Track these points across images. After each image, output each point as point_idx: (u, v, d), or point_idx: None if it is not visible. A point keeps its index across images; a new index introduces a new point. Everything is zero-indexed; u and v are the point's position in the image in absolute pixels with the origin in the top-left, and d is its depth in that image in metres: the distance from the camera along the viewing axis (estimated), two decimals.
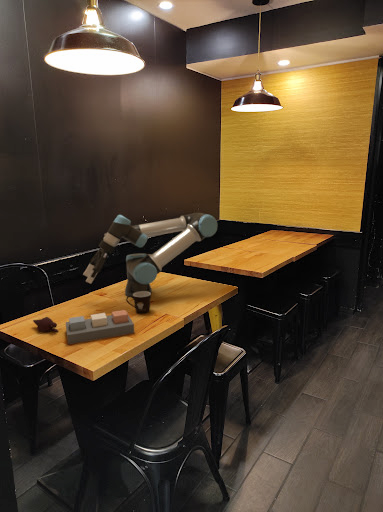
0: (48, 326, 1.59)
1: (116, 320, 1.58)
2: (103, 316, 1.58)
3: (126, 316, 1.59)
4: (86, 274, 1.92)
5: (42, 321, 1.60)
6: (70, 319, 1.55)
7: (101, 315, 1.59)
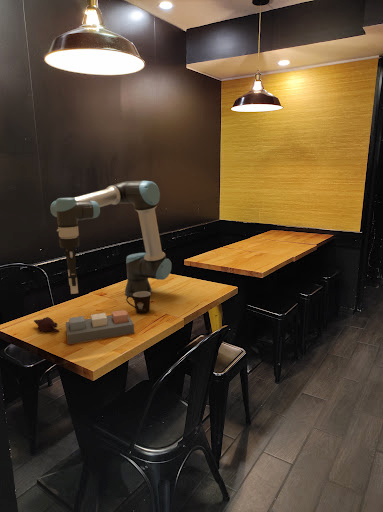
0: (49, 326, 1.59)
1: (116, 320, 1.58)
2: (103, 316, 1.58)
3: (126, 316, 1.59)
4: None
5: (43, 321, 1.60)
6: (70, 319, 1.55)
7: (101, 315, 1.59)
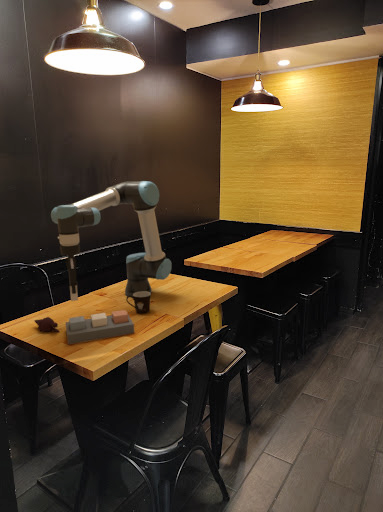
0: (49, 326, 1.59)
1: (116, 320, 1.58)
2: (103, 316, 1.58)
3: (126, 316, 1.59)
4: None
5: (43, 321, 1.60)
6: (70, 319, 1.55)
7: (101, 315, 1.59)
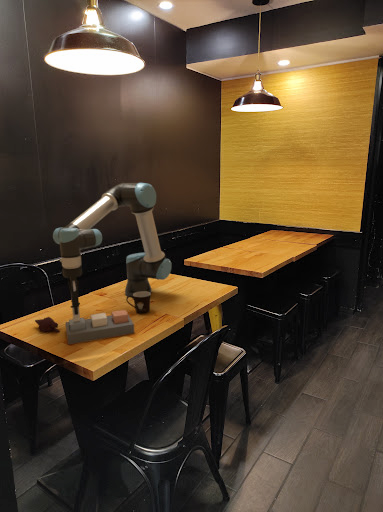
0: (49, 326, 1.59)
1: (116, 320, 1.58)
2: (103, 316, 1.58)
3: (126, 316, 1.59)
4: None
5: (43, 321, 1.60)
6: (70, 321, 1.55)
7: (101, 315, 1.59)
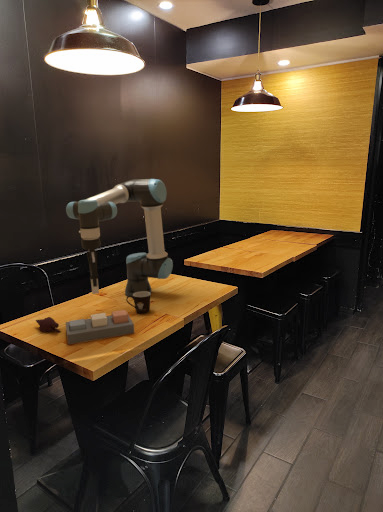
0: (50, 326, 1.59)
1: (116, 320, 1.58)
2: (103, 316, 1.58)
3: (126, 316, 1.59)
4: None
5: (44, 321, 1.60)
6: (70, 322, 1.55)
7: (101, 315, 1.59)
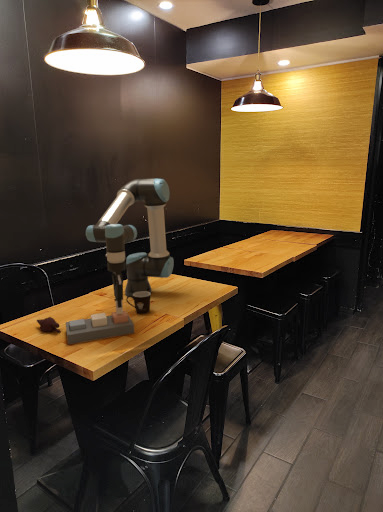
0: (51, 326, 1.59)
1: (116, 321, 1.58)
2: (103, 316, 1.58)
3: (126, 317, 1.59)
4: None
5: (45, 321, 1.60)
6: (70, 322, 1.55)
7: (101, 315, 1.59)
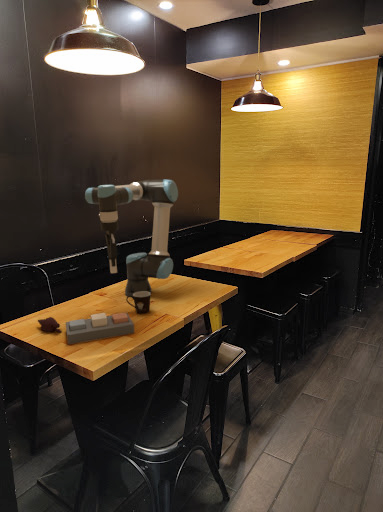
0: (51, 326, 1.59)
1: (116, 323, 1.58)
2: (103, 316, 1.58)
3: (126, 319, 1.59)
4: None
5: (46, 321, 1.60)
6: (70, 322, 1.55)
7: (101, 315, 1.59)
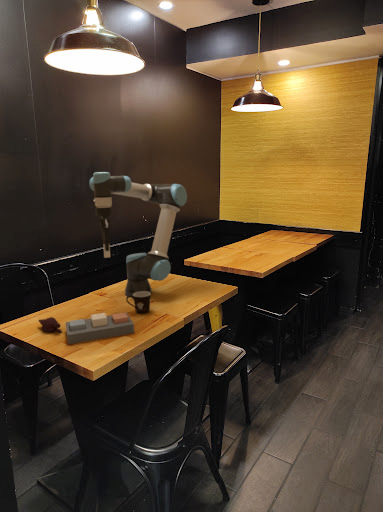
0: (52, 326, 1.59)
1: (116, 323, 1.58)
2: (103, 316, 1.58)
3: (126, 319, 1.59)
4: None
5: (46, 321, 1.59)
6: (70, 322, 1.55)
7: (101, 315, 1.59)
